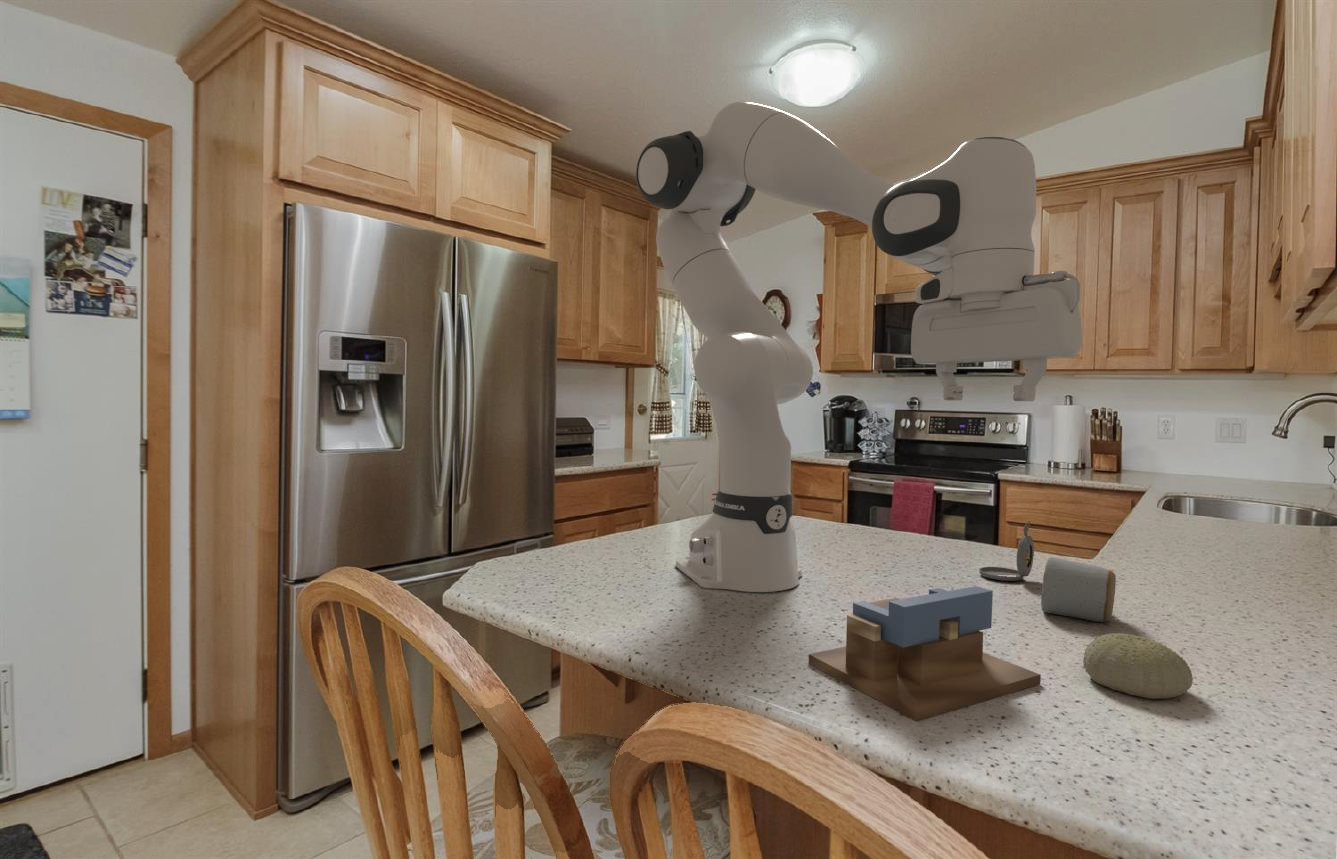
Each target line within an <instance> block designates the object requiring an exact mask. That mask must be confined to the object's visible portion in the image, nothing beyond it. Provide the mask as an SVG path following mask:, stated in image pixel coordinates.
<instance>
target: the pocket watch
mask: <svg viewBox="0 0 1337 859" xmlns="http://www.w3.org/2000/svg"><path fill="white" fill-rule="evenodd" d="M1030 525H1031V520H1028V521H1026V522H1025V524H1024V525H1023V529H1022V531H1023V535H1022V537H1021V538H1020V540H1019V542H1018V546H1017V549H1016V550H1017V551H1016V569H1017V570H1016V569H1013V568H1008V567H1002V566H1000V567H999V566H984V567H980V568H979V569H978V572H979V574H980V575H981V576H983V577H985V578H988V579H992V580H995V579H996V581H1006V582H1016V581H1022V580H1023V579H1024V577H1028V576H1029V575H1030V574H1031V570H1032V568H1033V563H1034V556H1035V549H1034V547H1035V546H1034V540H1033V538H1032V536H1030V535H1028V531H1029V527H1030ZM998 575H1016V577H1007V576H998Z"/></svg>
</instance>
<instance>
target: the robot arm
mask: <svg viewBox="0 0 1337 859" xmlns="http://www.w3.org/2000/svg"><path fill="white" fill-rule="evenodd" d="M635 172H636V174H635V175H636V176H635V177H636V178H635V179H636V186H637V188H638V191H639V194H640V195H641V196H642V198H643V199H644V200H645V201H646V202H648V203H650V204H651V205H654V206H655V207H658V208H660V209H663V210H670V213H669V215H668V216H666V218H664V219H663V220H662V222H661V223H660V225H659V226H658V229H657V231H656V234H655V235H656V236H655V243H656V246H657V250H658V253H659V257H660V260H661V263H662V266H663V269H664V272H665V273H666V275H667V277H668V280H669V282H670V283H671V285H672V288H673V290H674V292H675V293H676V295H677V297H678V299H679V301H680V302H681V304H682V307H683V308H684V310H685V311H686V314H687V316H688V318H689V320H690V321H691V323H692V325H693V326H694V328H695V329H696V330H697V331H698V332H699V333H701V334H702V335H703V336H705V337H706V338H707V340H706V341H704V342H703V343H702V345H701V346H700V347H699V349H698V351H697V353H696V356H695V360H694V369H693V370H694V375H695V376H694V377H695V380H696V383H697V385H698V387H699V388H700V389H701V391H702V392H703V393H704V394H705V396H706V397H707V399H708V401H709V403H710V406H711V410H712V413H713V416H714V417H713V418H714V421H715V425H716V430H717V434H718V441H719V442H718V443H719V490H718V491H717V492H716V493H715V492H714V493H711V496H716V497H714V498H713V497H712V498H711V501H714V504H713V507H712V512H713V513H712V514H711V515H710V516H709V517H708V518H706V520H705V521H704V522H703V523H701V524H700V525H699V526H698V527H697V528H696V529H695V530H694V531H692V533H691V536H690V540H689V541H688V542H689V543H688V546H689V555H688V556H684V557H681V558H678V559H676V560H675V565H674V566H675V567H676V568H678V570H680V571H681V572H682V573H684V575H686V576H688V577H689V578H690V579H691V580H693V581H694V582H695V583H696V584H698V585H699V586H700V587H702V588H704V589H719V590H720V589H723V590H724V589H725V590H731V591H740V592H749V593H750V592H752V593H769V592H779V591H785V590H786V591H787V590H790V589H792V588H795V587H797V586H798V585H799V583H800V580H799V578H800V577H801V576H802V575H803V573H802V572H803V571H802V568H801V567H799V566H798V552H797V541H796V540H797V538H796V527H795V526H794V524H792V522H791V517H792V516H793V515H794V514H793V512H794V511H793V510H794V509H793V508H794V500H793V498H794V496H793V493H791V472H792V471H791V469H792V468H791V464H792V463H791V462H792V458H791V457H792V446H791V443H790V440H789V437H788V436H787V435H786V434H785V432H784V429H783V425H782V421H781V417H780V412H779V409H778V408H779V407H778V405H782V404H785V403H788V402H790V401H792V400H794V399H797V398H798V397H800V396H801V395H803V394H804V393H805V392H806V390H807V389H808V388H809V386H810V385H811V382H812V380H813V375H814V369H813V368H814V367H813V363H812V360H811V357H810V356H809V354H808V353H807V352H806V351H805V350H804V349H803V348H802V347H801V346H800V345H799V344H798V343H796V341H795V340H794V338H792V337H791V335H790V334H789V333H788V332H787V331H786V329H785V328H784V326H783V325H782V324H781V323H780V321H778V319H777V318H776V317H775V316H774V314H773V313H772V311H770V309H769V308H768V307H767V306H766V305H765V303H763V301H762V300H761V298H759V296H758V295H757V293H756V292H755V291H754V289H753V287H752V286H751V283H749V281H748V279H747V277H746V275H745V274H744V272H743V270H742V269H741V267H740V265H739V264H738V262H737V260H736V258H735V257H734V255H733V253H732V251H731V250H730V248H729V246H728V245H727V243H726V242H725V240H724V238H723V235H722V233H721V227H726V226H730V225H732V224H733V223H735V221H736V219H737V218H738V215H739V214H740V213H742V212H743V211H744V210H745V209H746V208H747V206H748V205H749V203H750V202H751V200H752V199H753V197H754V195H755V192H756V191H758V192H760V193H762V194H764V195H767V196H770V197H772V198H775V199H778V200H782V201H785V202H789V203H792V204H796V205H802V206H806V207H811V208H815V209H820V210H824V211H829V212H831V213H832V212H833V213H836V214H839V215H843V216H847V217H849V218H852V219H855V220H856V221H859V222H861V223H863V224H864V225H867V226H869V227H871V234H872V236H873V241H874V242H875V244H876V246H877V247H878V248H879V249H880V250H881V251H882V252H884V253H885V254H887V255H888V256H890V257H891V258H894V259H896V260H897V261H898V260H899V261H901V262H904V263H907V264H908V265H910V266H914V267H917V268H919V269H921V270H923V271H925V272H927V273H928V274H930V275H932V276H933V277H931V278H930V279H929V280H926V281H925V282H922V283H921V284H919V285H918V286H917V287H916V288H915V290H914V301H915V303H917V304H921V305H919V306H918V307H917V308H916V310H915V312H914V314H913V317H912V323H911V324H912V325H911V336H910V354H911V357H912V358H913V361H914V363H915V364H919V365H935V368H936V369H935V373H936V376H937V377H938V379H939V381H940V383H941V385H942V387H943V391H942V392H943V397H942V398H943V399H944V401H962V400H963V398H964V395H963V392H964V386H963V385H962V386H961V385H958V383H957V380H956V379H955V376H954V373H957V372H958V371H957V369H958V364H971V363H990V362H991V363H993V362H995V363H996V362H1013V361H1022V369H1023V370H1027V371H1026V373H1025V374H1024V376H1023V378H1022V380H1021V382H1020V384H1013V388H1012V389H1013V390H1012V391H1013V396H1012V397H1013V401H1015V402H1034V401H1035V400H1036V388H1037V385H1039V382H1040V381H1041V380H1042V378H1043V376H1044V375H1045V373H1046V371H1047V369H1048V368H1047V367H1048V366H1047V365H1048V360H1057V359H1072V358H1075V357H1076V356H1077V355H1078V354H1079V353H1080V350H1082V347H1083V328H1082V319H1081V312H1080V305H1079V304H1080V301H1081V282H1080V281H1079V280H1078V278H1077V277H1076V276H1075V275H1073V274H1071V273H1068V271H1066V270H1056V271H1053V272H1051V273H1038V274H1035V246H1034V242H1033V239H1032V238H1033V236H1032V230H1033V225H1034V222H1035V219H1036V215H1037V179H1036V177H1037V176H1036V175H1037V173H1036V166H1035V161H1034V156H1033V154H1032V152H1031V151H1030V149H1028V147H1026V146H1025V145H1024V144H1023V143H1022V142H1020V141H1017V140H1016V139H1012V138H1008V137H1007V138H1006V137H1000V136H984V137H977V138H974V139H971V140H968V141H965V142H964V143H962V144H961V145H960V146H959V147H958V148H957V150H956V151H955V152H954V153H953V154H952V155H951V156H949V158H948V159H947V160H945V161H943V162H942V163H941V164H939V165H938V166H936V167H934V168H933V169H931V170H930V171H928V172H927V171H926V173H923V174H921V175H920V176H917V177H916V178H913V179H911V180H905V181H902V182H900V183H898V184H893V183H891V182H888V181H886V180H884V179H882V178H880V177H878V176H876V175H874V174H873V173H871V172H870V171H868V170H867V169H865V168H864V167H863V166H861V165H860V164H859V163H858V162H856V161H855V159H852V157H850V156H849V155H848V154H847V153H846V152H845V151H843V150H842V149H841V148H839V146H837V145H836V144H835V143H834V142H832V141H831V140H830V139H829V138H828V137H827V136H825V135H824V134H823V133H821V132H820V131H819V130H818V129H816V128H814V127H813V126H812V125H811V124H809V123H807V122H806V121H804V120H802V119H800V118H799V117H797V116H795V115H794V114H793V115H792V114H790V113H788V112H785V111H783V110H780V109H778V108H775V107H771V106H767V105H763V104H762V103H761V104H759V103H756V102H755V103H754V102H748V101H735V102H734V101H733V102H732V103H730V104H728V105H726V106H724V107H722V108H721V109H720V110H719V112H718V113H717V114H716V115H715V117H714V119H713V120H712V121H711V125H710V128H709V129H708V131H707V132H706V133H705V134H703V135H698V136H696V135H695V133H693V131H691V130H686V131H683V132H679V133H677V134H673V135H667V136H666V135H665V136H663V137H659V138H655V139H654V140H652V141H650V142H649V143H648V144H647V145H646V146H645V147H644V148H643V150H642V151H641V153H640V156H639V158H638V161H637V164H636V170H635Z"/></svg>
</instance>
